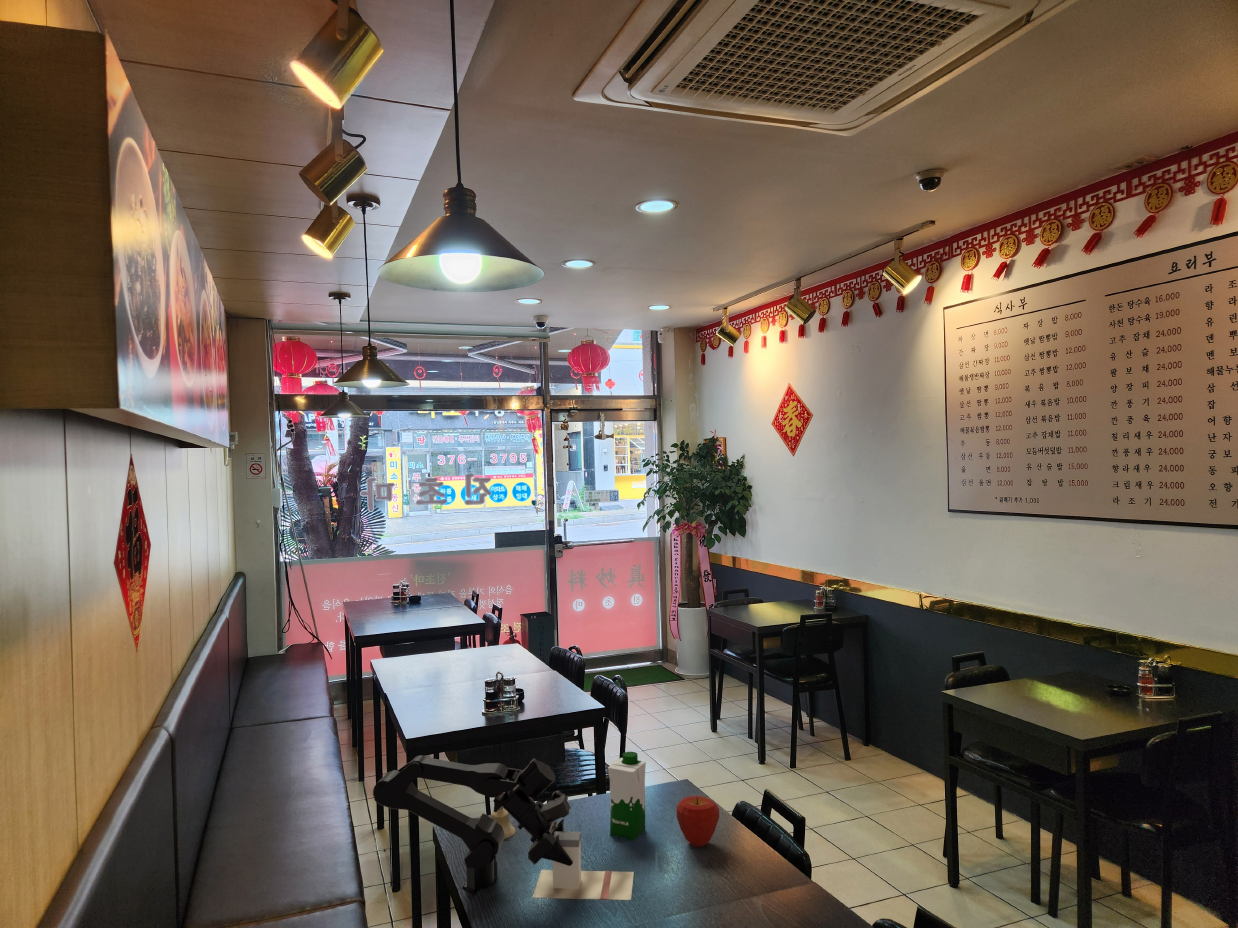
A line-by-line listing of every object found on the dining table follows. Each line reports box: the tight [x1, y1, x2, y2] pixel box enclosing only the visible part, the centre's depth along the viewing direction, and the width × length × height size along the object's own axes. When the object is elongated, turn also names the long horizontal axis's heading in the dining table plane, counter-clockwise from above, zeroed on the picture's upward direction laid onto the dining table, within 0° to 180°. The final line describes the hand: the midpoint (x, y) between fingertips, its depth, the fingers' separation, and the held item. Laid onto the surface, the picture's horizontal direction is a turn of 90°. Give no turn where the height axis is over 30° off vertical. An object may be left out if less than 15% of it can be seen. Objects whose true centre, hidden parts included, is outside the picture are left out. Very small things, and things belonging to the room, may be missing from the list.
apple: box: [676, 795, 720, 848], centre depth 198 cm, size 11×11×12 cm
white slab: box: [552, 831, 582, 889], centre depth 177 cm, size 6×4×11 cm
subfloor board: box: [532, 869, 635, 901], centre depth 177 cm, size 22×12×1 cm, turn 86°
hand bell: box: [490, 792, 516, 840], centre depth 206 cm, size 8×8×16 cm
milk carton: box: [607, 751, 647, 842], centre depth 205 cm, size 9×9×20 cm
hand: (572, 859), depth 177 cm, fingers closed on white slab, 4 cm apart
